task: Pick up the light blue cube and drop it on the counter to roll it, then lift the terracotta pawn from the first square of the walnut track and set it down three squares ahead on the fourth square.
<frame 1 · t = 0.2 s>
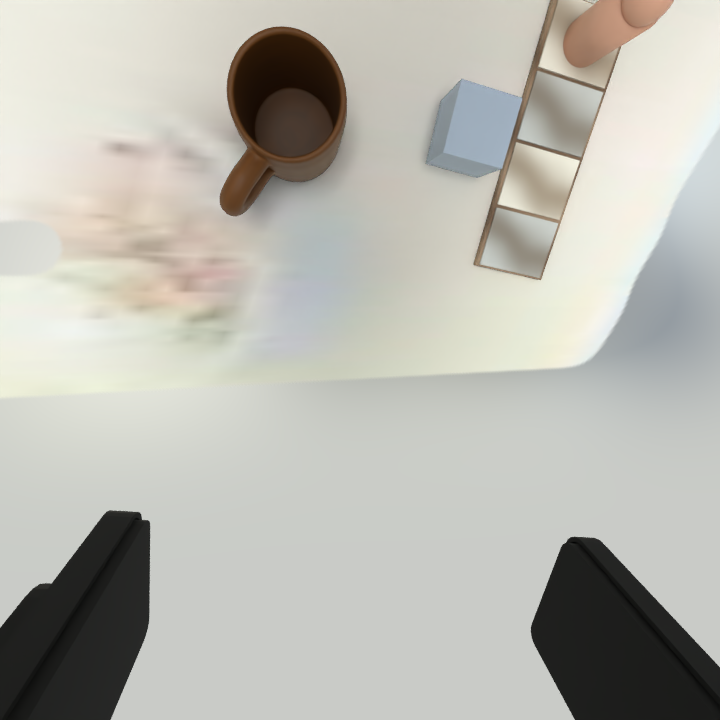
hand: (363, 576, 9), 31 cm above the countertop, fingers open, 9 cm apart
light blue cube: (459, 140, 34), on the countertop
pawn: (583, 42, 32), point 1 cm above the countertop, touching track
track: (544, 151, 35), on the countertop
mug: (281, 158, 33), on the countertop
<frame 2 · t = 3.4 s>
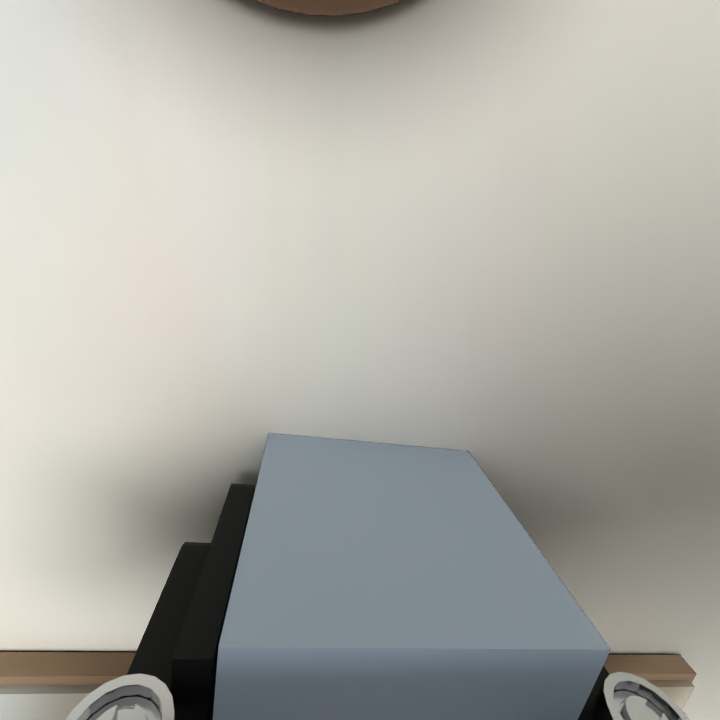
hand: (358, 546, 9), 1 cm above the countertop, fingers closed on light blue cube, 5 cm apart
light blue cube: (356, 526, 10), on the countertop, touching gripper
when the fingers open (8 cm above the countertop, at t = 5.3 s): light blue cube drops 8 cm, on the countertop.
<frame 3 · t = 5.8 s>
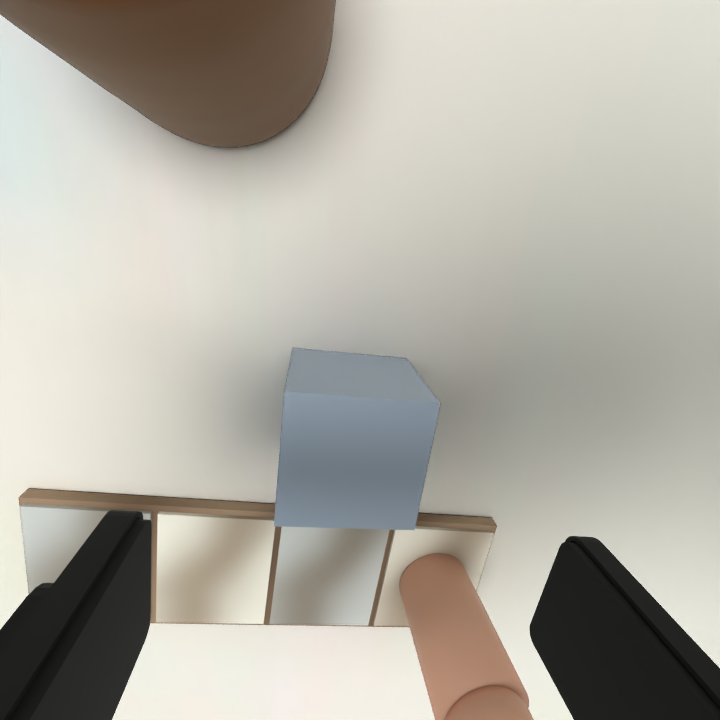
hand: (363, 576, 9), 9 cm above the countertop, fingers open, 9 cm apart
light blue cube: (343, 404, 18), on the countertop
pawn: (432, 581, 20), point 1 cm above the countertop, touching track
track: (274, 562, 20), on the countertop
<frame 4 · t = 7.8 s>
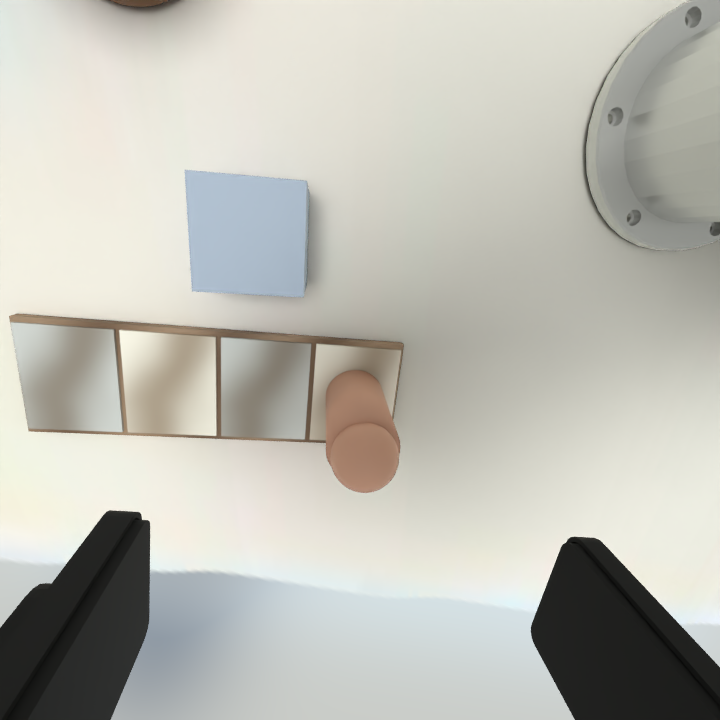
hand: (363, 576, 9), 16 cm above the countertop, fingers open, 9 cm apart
light blue cube: (263, 237, 22), on the countertop
pawn: (354, 396, 24), point 1 cm above the countertop, touching track
track: (221, 383, 24), on the countertop
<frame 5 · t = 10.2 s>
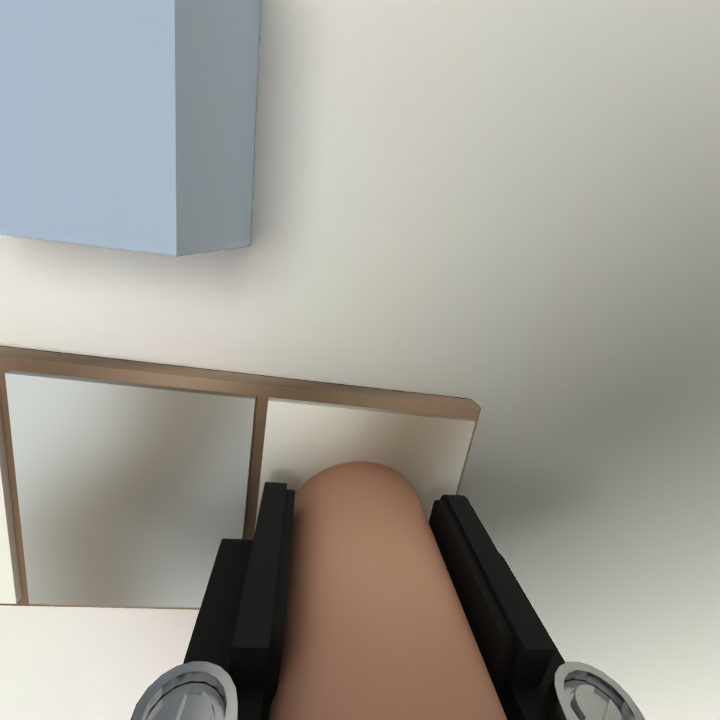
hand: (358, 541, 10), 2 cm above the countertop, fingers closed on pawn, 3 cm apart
light blue cube: (129, 101, 8), on the countertop
pawn: (355, 520, 10), point 1 cm above the countertop, touching gripper, track
track: (34, 479, 10), on the countertop
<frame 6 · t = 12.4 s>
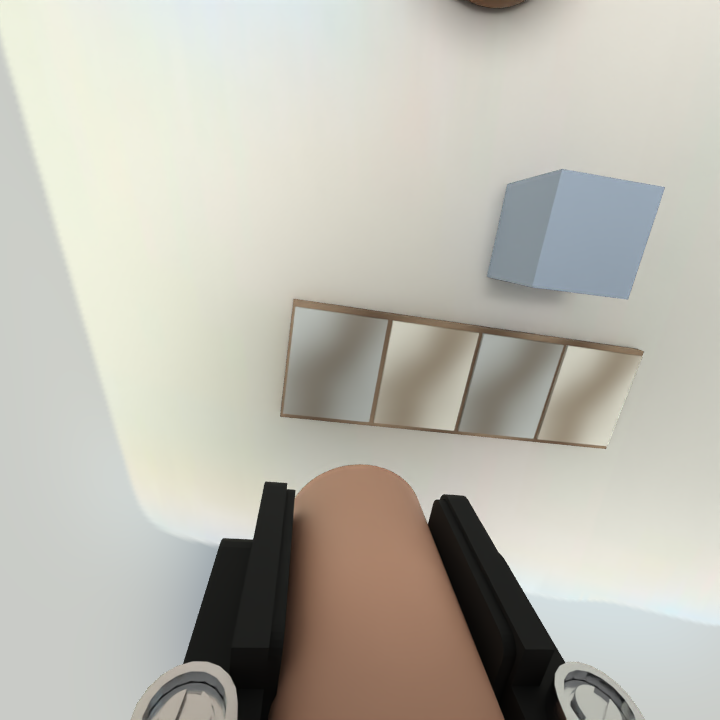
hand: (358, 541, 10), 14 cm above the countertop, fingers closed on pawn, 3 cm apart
light blue cube: (536, 237, 22), on the countertop
pawn: (355, 523, 10), point 13 cm above the countertop, touching gripper
track: (463, 379, 24), on the countertop
when the fingers open (3 cm above the countertop, at t = 14.7 s): pawn drops 1 cm, resting on track.
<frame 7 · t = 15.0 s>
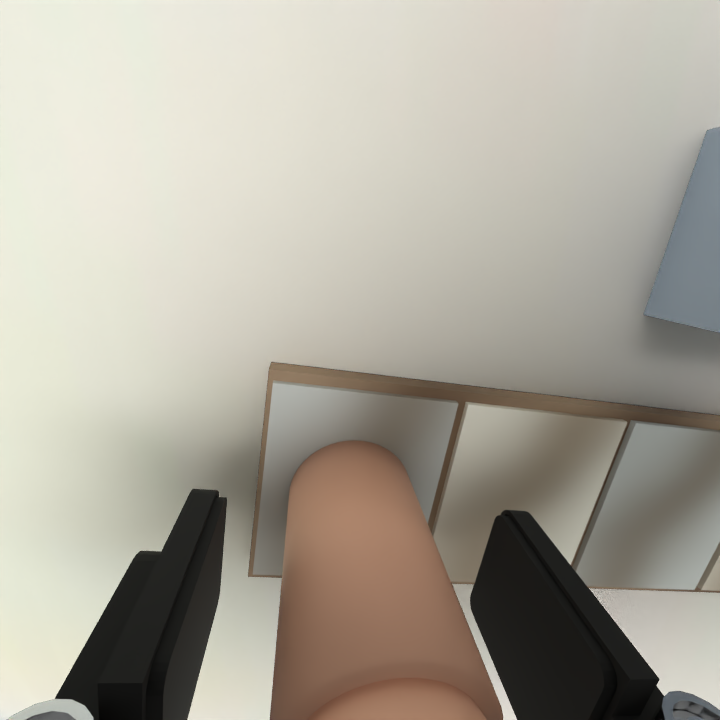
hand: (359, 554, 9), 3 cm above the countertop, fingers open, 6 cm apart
pawn: (350, 494, 11), point 1 cm above the countertop, touching track
track: (580, 494, 14), on the countertop
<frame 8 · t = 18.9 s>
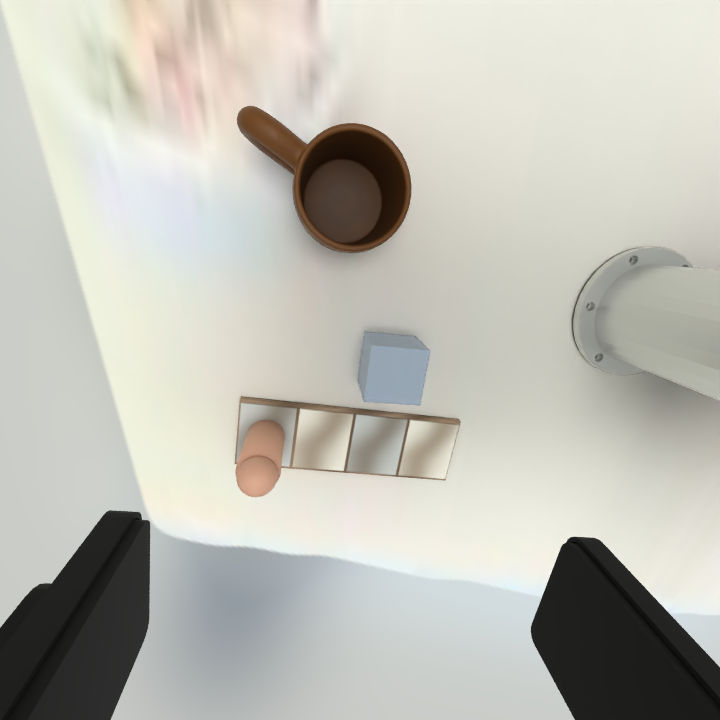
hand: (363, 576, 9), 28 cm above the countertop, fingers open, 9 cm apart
light blue cube: (386, 358, 37), on the countertop
pawn: (265, 436, 37), point 1 cm above the countertop, touching track
track: (349, 439, 39), on the countertop
mug: (320, 187, 32), on the countertop
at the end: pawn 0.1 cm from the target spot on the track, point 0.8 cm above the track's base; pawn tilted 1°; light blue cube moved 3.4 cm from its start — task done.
